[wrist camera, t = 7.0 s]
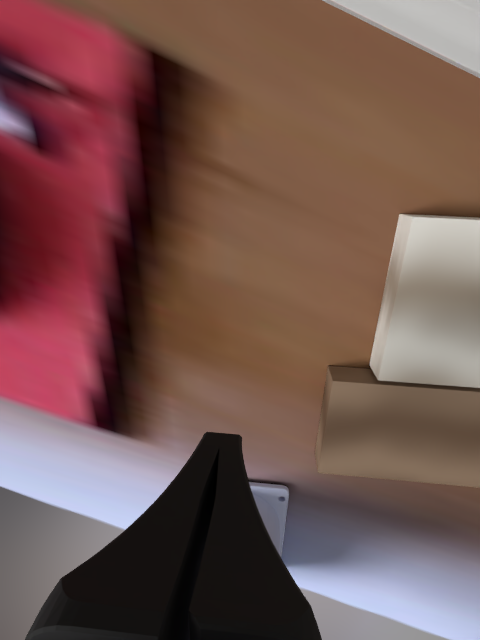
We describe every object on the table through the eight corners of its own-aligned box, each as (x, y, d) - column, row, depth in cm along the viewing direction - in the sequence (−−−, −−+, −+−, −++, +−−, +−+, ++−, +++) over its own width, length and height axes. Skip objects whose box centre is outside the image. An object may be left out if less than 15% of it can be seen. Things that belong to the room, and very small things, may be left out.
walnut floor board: (553, 474, 24) (575, 496, 22) (314, 452, 25) (317, 473, 23) (597, 385, 21) (625, 403, 19) (328, 365, 22) (332, 381, 20)
